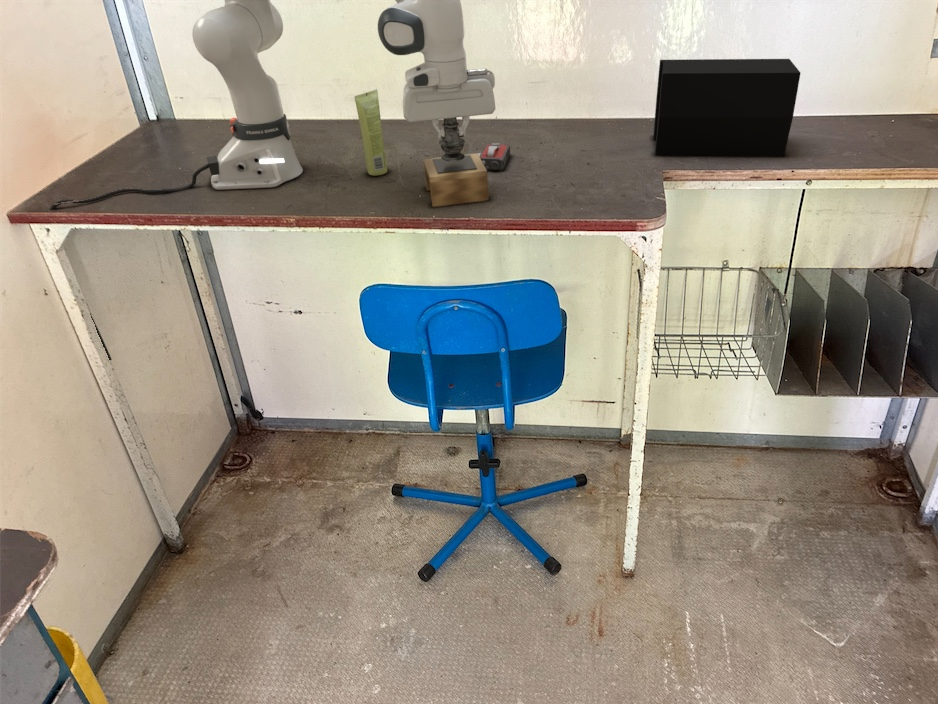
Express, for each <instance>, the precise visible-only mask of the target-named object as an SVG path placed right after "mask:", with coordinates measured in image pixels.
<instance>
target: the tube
mask: <svg viewBox="0 0 938 704" xmlns="http://www.w3.org/2000/svg"><path fill="white" fill-rule="evenodd" d="M379 100H380V99H379V92H378V89H377V88H375V89H372V90H370V91H366V92H363V93H360V94H356V95H354V102H355V105H356V106H355V107H356V112H357V118H358V122H359V127H360V134H361V139H362V147H363V151H364V158H365V164H366V169H367V174H368V175H370V176H383V175H385V174H386V173H388V165H387V158H386V151H385V143H384V135H383V126H382V120H381V119H382V118H381V111H380V101H379Z"/></svg>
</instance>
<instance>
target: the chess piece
mask: <svg viewBox="0 0 938 704" xmlns="http://www.w3.org/2000/svg"><path fill="white" fill-rule="evenodd" d="M457 119H458V117H456V118H446V119H443V123H442V127H443V129H444V131H445V139H439V141H438V144H439V145H440V148H441V150H442V152H443V153H444V154H443V155H441V157H442V159H443V160H445V161H459V160H462V159H464V158H465V155H466V154H463V153H462V151H463V150H464V146H465V142H466V140H465V138H463V137H459V135H458V132H459V131H458V127H459V124H460V123H459V122H458V120H457Z"/></svg>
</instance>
